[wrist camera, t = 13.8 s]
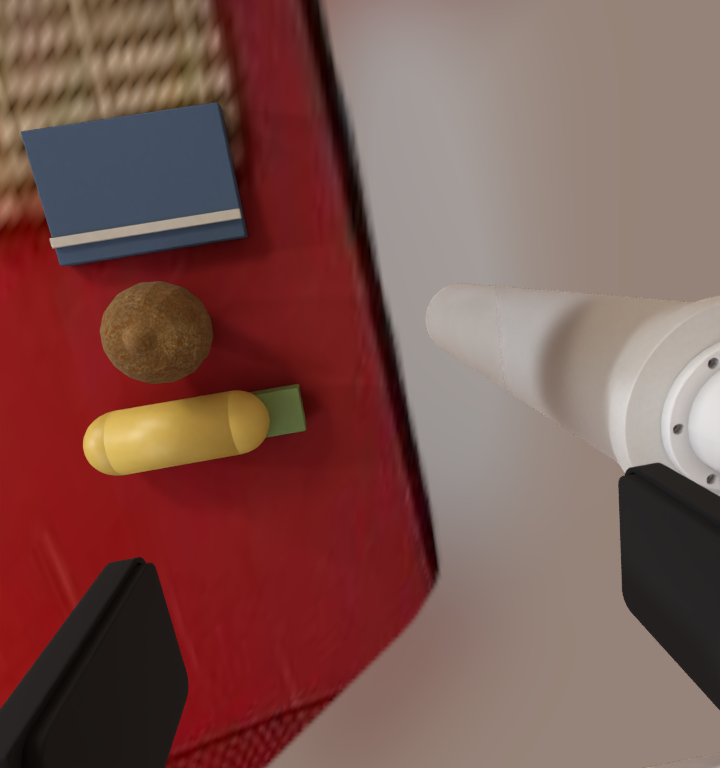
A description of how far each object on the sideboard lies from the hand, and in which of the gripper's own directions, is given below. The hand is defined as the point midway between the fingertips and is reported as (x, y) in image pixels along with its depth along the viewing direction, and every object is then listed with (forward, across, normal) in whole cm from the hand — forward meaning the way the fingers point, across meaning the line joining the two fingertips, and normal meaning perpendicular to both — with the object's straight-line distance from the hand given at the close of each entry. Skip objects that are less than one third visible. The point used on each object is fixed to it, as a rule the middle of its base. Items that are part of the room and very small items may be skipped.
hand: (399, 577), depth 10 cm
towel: (+26, +11, -13) cm, 31 cm away
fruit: (+26, +11, -4) cm, 29 cm away
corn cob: (+26, +11, +3) cm, 29 cm away
